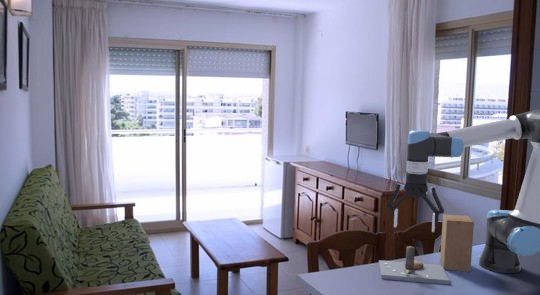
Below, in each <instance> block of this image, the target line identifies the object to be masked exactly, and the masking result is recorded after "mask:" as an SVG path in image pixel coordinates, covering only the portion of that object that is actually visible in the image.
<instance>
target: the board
mask: <svg viewBox="0 0 540 295" xmlns="http://www.w3.org/2000/svg"><path fill="white" fill-rule="evenodd" d="M378 265H379V272H380V278H381V279H383V280H396V281H405V282H420V283H429V284H440V285H441V284H443V285H450V283H451V282H450V278H449V276H448V275H447V273H446V271H445V269H444V268H443V266H442V264H433V263H432V264H430V263H423V268H421V269H413V270H412V272H411V273H410V272H409V273H408V274H405V269H406V268H405V261H393V260H392V261H391V260H383V259H381V260H378Z"/></svg>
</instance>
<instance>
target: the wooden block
mask: <svg viewBox="0 0 540 295" xmlns="http://www.w3.org/2000/svg"><path fill="white" fill-rule="evenodd" d="M441 226H442V227H441V241H440V243H441V244H440V254H439V255H440V258H439V261H440V265H442V267H443V269H444V271H445V270H447V271H457V272H471V270H472V269H471V267H472V255H473V254H472V253H473V239H474V226H475V221H473V220H472V219H471V218H470V216H468V215H462V214H461V215H460V214H459V215H458V214H446V213H445V214H444V213H443V214H442V225H441Z"/></svg>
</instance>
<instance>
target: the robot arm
mask: <svg viewBox="0 0 540 295" xmlns="http://www.w3.org/2000/svg"><path fill="white" fill-rule="evenodd" d="M509 139H514V140H524V139H526V140H527V139H530V144H531V146H532V152H531V154H530V157H529V161H528V165H527V167H526V170H525V171H526V172H525V173H524V174H525V175H524V178H523V181H522V184H521V187H520V191H519V193H518V194H519V195H518V198H517V201H516V204H515V207H514V209H513V210H507V209H504V210H503V209H492V210H488V211H487V216H486V227H485V228H486V229H485V242H484V244H485V245H484V247H483V250H482V251H481V254H480V256H479V260H478V264H479V266H480V267H482V269H483V268H484V269H486V270H489V271H492V272H496V273H501V274H503V273H504V274H517V273H519V272H521V269H522V263H521V260H520V256H522V257H529V256H533V255H535V254H538V253H539V252H540V109H535V110H530V111H527V112H526V111H525V112H522V113H519V114H515V115H511V116H509V118H508V119H502V120H497V121H492V122H487V123H481V124H476V125H472V126H467V127H463V128H462V127H461V128H456V129H452V130H446V131H441V132H431V133H430V132H429V131H428V130H417V129H416V130H413V129H412V130H410V131H409V132H408V135H407V143H406V144H407V151H406V152H407V156H406V168H405V169H406V173H405V184H401V183H397V185H396V189H395V191H394V193H393V195H392V196H391V198H390V200H389V201H388V203H387V204H386V208H389V209H390V210H391V218H393V228H397V227H398V214H399V209H398V207H399V206H400V205H401V203H403V202H404V200H406V199H407V198H408V197H410V198H416V199H420V198H421V199H423V201H425V203H426V204H427V205H428V206H429V208H430V209H431V211H432V212H433V213H432V218H431V219H432V220H431V221H432V222H431V232H432V233H435V231H436V230H435V229H436V224H438V223H439V216H440V215H441V214H444V212H445V208H444V206H443V204H442V202H441V200H440V198H439V195H438V193H437V187H436V186H429V187H428V172H429V171H428V169H429V157H430V158H431V157H432V158H433V157H435V158H436V157H437V158H451V159H452V158H460V157H461V156H463V154H464V151H465V150H464V149H465V148H467V147H468V148H469V147H472V146H479V145H483V144H488V143H494V142H499V141H503V140H509ZM403 189H404V190H405V192H406V193H404V195H403V196H402V197H400V199H398V200H397V202H395V200H396V198H397V197H398V195H399V193H400V192H401V191H402V190H403ZM428 191H429V193H430V194H432V197H433V199H434V202H435V203H436V205H435V204H434V202H433V201H432V200H431V199H430V197H429V196H428V194H426V193H427V192H428ZM394 202H395V203H394ZM393 203H394V204H393ZM436 206H437V207H436Z"/></svg>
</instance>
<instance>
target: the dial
mask: <svg viewBox="0 0 540 295" xmlns="http://www.w3.org/2000/svg"><path fill="white" fill-rule="evenodd" d="M405 251H406V252H405V261H404V262H405V268H406V269H405V274H408V273H409V272H410V273H411V272H412V270H413V269H421V268H423V264H424V263H423V262H422V261H419V260H415V255H416V254H415V253H416V252H415V251H416V248H415V247H414V246H412V245H407V246H406V250H405Z"/></svg>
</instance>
